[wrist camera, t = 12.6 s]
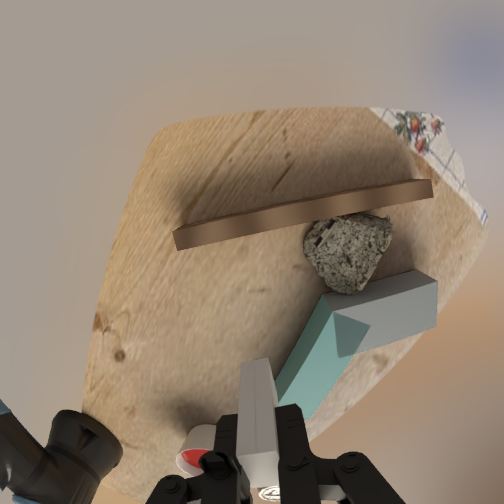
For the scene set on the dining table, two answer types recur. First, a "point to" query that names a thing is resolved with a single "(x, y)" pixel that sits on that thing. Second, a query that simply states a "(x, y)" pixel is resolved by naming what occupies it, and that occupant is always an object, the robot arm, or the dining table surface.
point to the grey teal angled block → (354, 333)
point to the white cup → (195, 448)
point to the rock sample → (347, 249)
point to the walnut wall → (300, 212)
